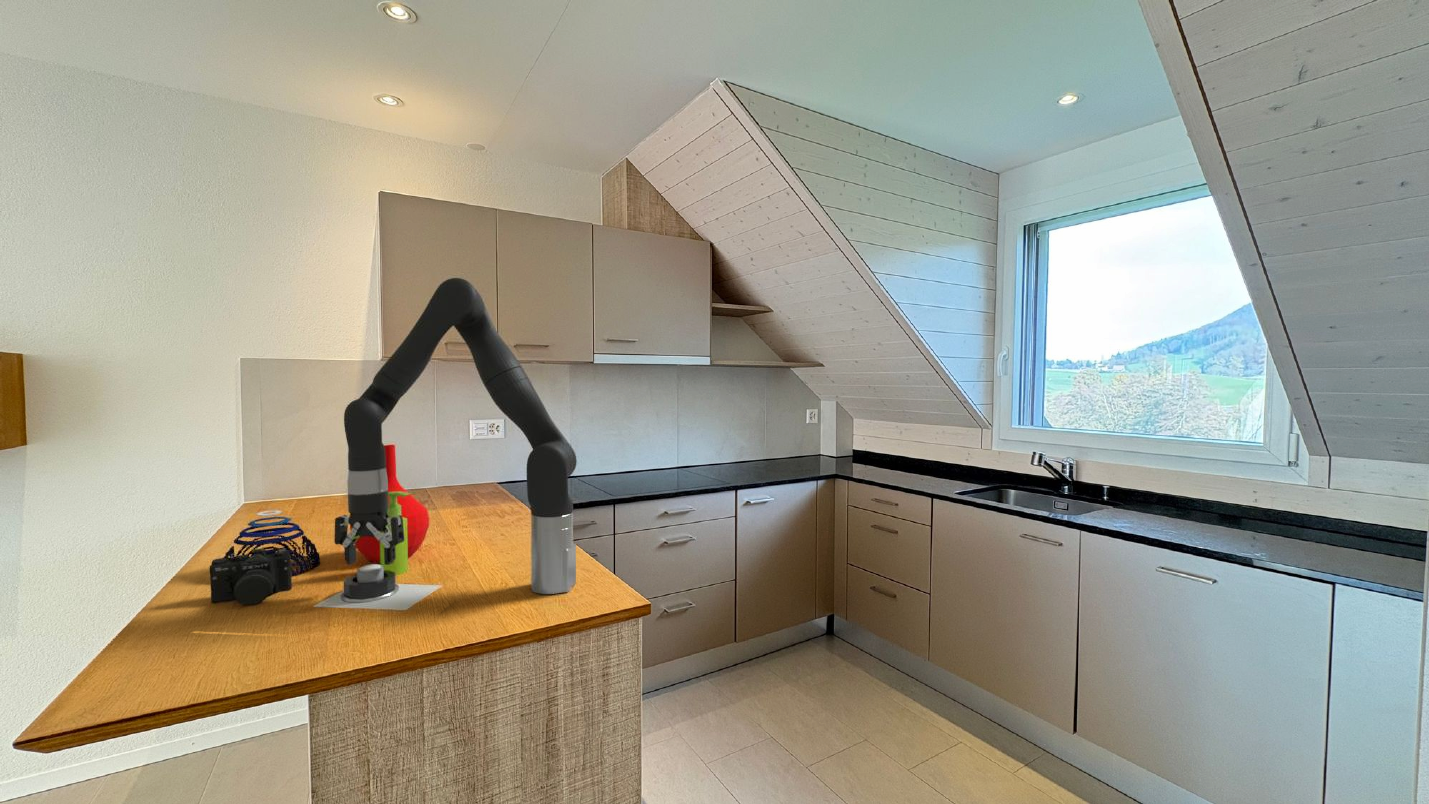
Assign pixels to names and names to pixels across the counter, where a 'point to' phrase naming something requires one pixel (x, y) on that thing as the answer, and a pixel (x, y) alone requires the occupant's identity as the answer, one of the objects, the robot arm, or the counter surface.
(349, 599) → the black faceted bowl
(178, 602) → the counter surface
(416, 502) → the vase
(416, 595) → the mat
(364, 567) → the cap
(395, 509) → the soap dispenser
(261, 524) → the decorative bowl
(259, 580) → the camera
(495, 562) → the counter surface
